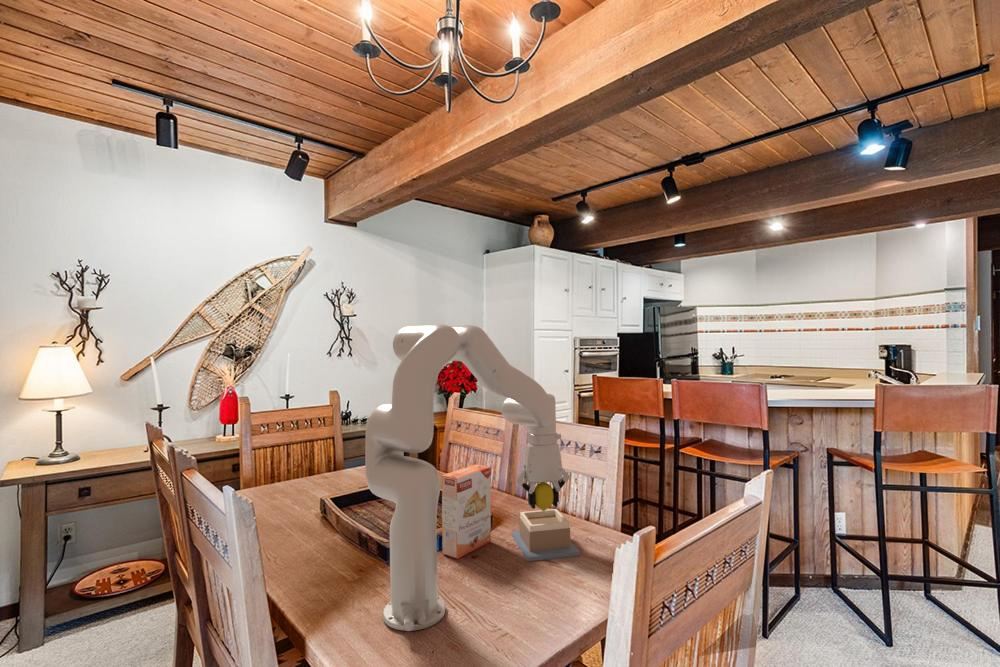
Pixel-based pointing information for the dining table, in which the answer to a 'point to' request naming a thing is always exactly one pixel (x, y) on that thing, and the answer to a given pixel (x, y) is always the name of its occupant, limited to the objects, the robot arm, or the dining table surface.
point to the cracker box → (466, 510)
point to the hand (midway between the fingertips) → (543, 505)
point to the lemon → (543, 496)
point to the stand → (544, 535)
